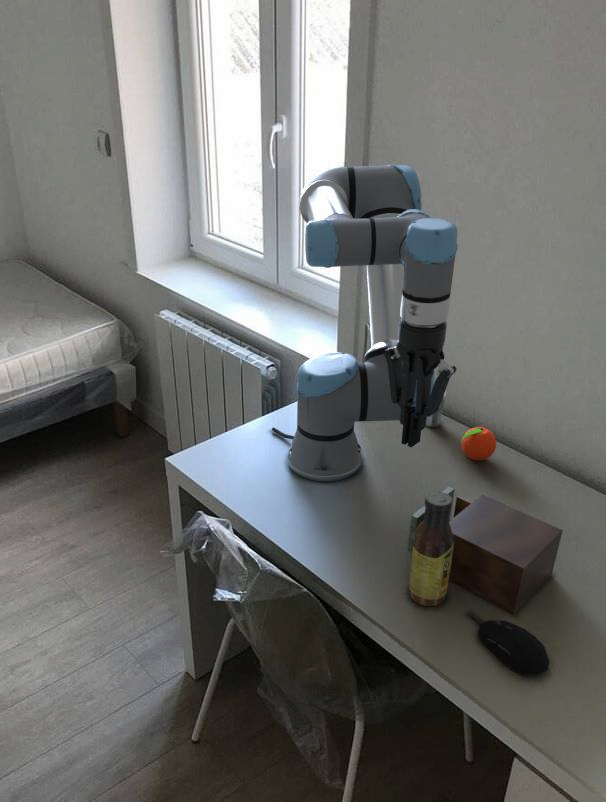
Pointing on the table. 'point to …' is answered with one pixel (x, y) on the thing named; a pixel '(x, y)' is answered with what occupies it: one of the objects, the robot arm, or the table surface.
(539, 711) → the table surface
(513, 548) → the cabinet
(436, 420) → the salt shaker
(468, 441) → the clementine
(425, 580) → the sauce bottle
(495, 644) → the gaming mouse
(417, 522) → the drawer
